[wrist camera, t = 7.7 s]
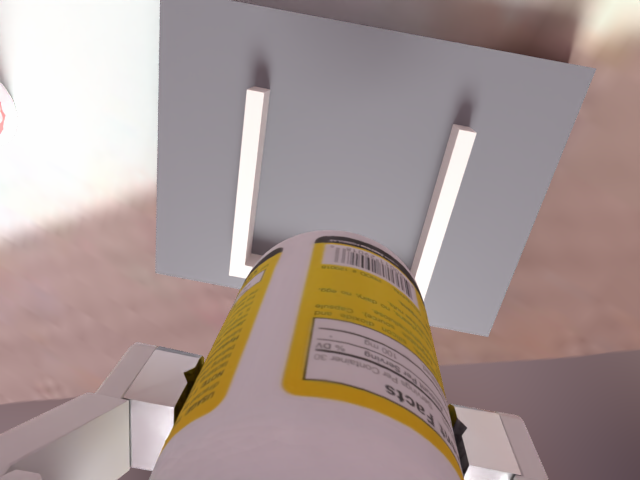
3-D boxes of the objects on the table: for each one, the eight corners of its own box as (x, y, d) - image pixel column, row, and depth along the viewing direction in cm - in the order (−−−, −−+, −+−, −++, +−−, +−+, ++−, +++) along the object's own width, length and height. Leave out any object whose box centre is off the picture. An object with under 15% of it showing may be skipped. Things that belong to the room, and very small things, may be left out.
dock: (174, 251, 29) (144, 285, 25) (184, -7, 23) (145, -18, 19) (476, 308, 29) (494, 352, 25) (567, 65, 23) (613, 70, 19)
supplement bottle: (274, 389, 15) (137, 901, 6) (219, 245, 13) (-108, 697, 4) (438, 366, 14) (563, 944, 5) (406, 206, 12) (515, 695, 3)
